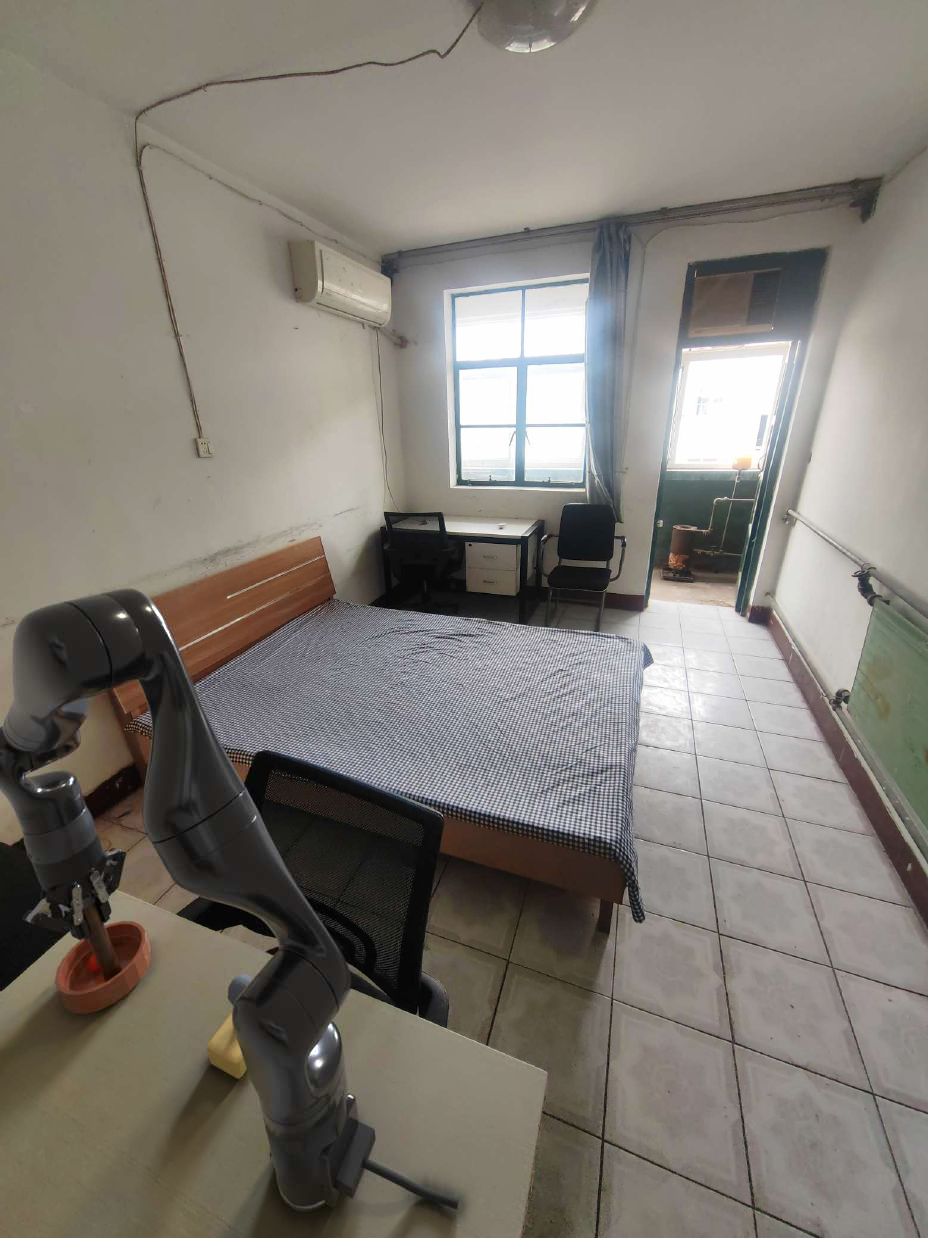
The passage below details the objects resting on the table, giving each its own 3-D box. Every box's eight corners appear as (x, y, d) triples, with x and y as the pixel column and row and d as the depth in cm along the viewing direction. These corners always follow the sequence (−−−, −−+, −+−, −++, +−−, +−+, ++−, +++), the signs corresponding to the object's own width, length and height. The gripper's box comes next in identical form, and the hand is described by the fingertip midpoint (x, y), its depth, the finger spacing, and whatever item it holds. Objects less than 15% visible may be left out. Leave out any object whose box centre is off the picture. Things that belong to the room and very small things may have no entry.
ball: (113, 966, 80) (113, 953, 79) (92, 980, 77) (91, 967, 77) (106, 955, 81) (105, 942, 81) (85, 967, 79) (84, 954, 78)
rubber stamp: (240, 1081, 66) (226, 1025, 62) (209, 1063, 68) (194, 1008, 64) (288, 1007, 74) (279, 954, 70) (259, 993, 76) (249, 941, 72)
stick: (126, 972, 77) (98, 898, 72) (113, 987, 75) (82, 912, 70) (115, 969, 78) (86, 896, 73) (101, 983, 76) (70, 909, 71)
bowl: (168, 954, 82) (162, 933, 81) (98, 1028, 72) (89, 1007, 70) (119, 932, 86) (112, 912, 84) (46, 1000, 75) (36, 978, 74)
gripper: (24, 888, 60) (62, 980, 66) (128, 814, 73) (152, 897, 78) (-13, 872, 63) (27, 963, 68) (94, 803, 75) (120, 885, 81)
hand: (94, 927), depth 73 cm, fingers closed on stick, 2 cm apart
